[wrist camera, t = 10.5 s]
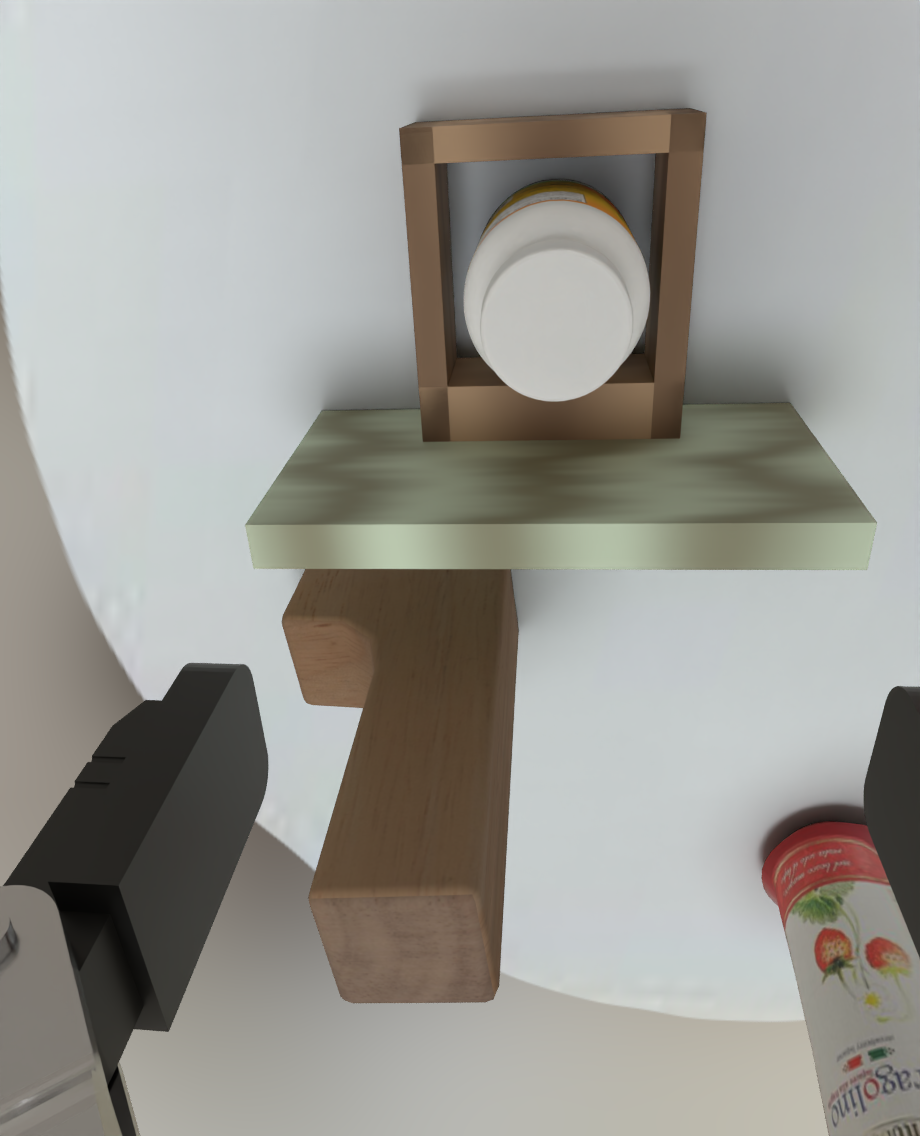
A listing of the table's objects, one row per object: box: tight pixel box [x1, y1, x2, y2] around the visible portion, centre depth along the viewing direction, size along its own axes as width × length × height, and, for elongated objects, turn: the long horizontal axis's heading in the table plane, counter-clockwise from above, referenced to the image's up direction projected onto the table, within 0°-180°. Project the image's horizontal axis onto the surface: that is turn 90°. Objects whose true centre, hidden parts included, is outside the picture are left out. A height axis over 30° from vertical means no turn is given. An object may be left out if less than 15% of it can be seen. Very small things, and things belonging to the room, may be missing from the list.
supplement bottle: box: [464, 180, 650, 401], centre depth 27 cm, size 5×5×10 cm
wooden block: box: [282, 569, 519, 1003], centre depth 31 cm, size 9×4×18 cm, turn 99°
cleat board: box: [245, 108, 877, 570], centre depth 27 cm, size 18×12×10 cm, turn 93°
